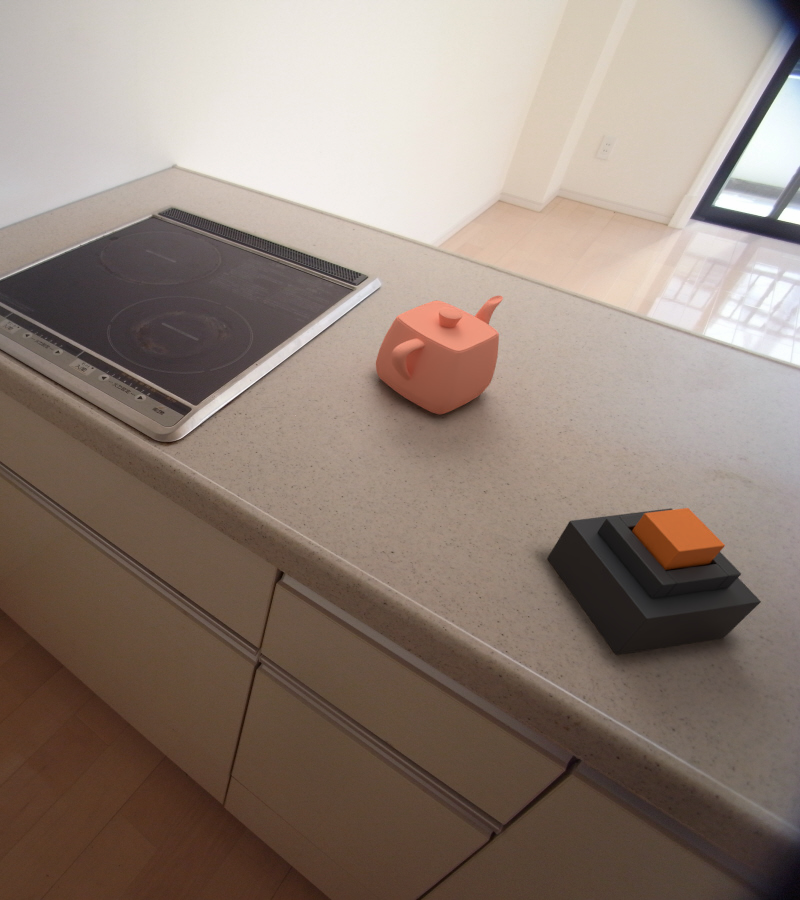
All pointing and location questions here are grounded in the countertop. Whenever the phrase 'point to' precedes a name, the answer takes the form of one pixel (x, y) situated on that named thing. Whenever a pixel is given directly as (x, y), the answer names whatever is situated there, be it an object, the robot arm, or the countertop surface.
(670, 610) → the push button box
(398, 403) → the countertop surface
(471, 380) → the teapot
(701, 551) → the key
